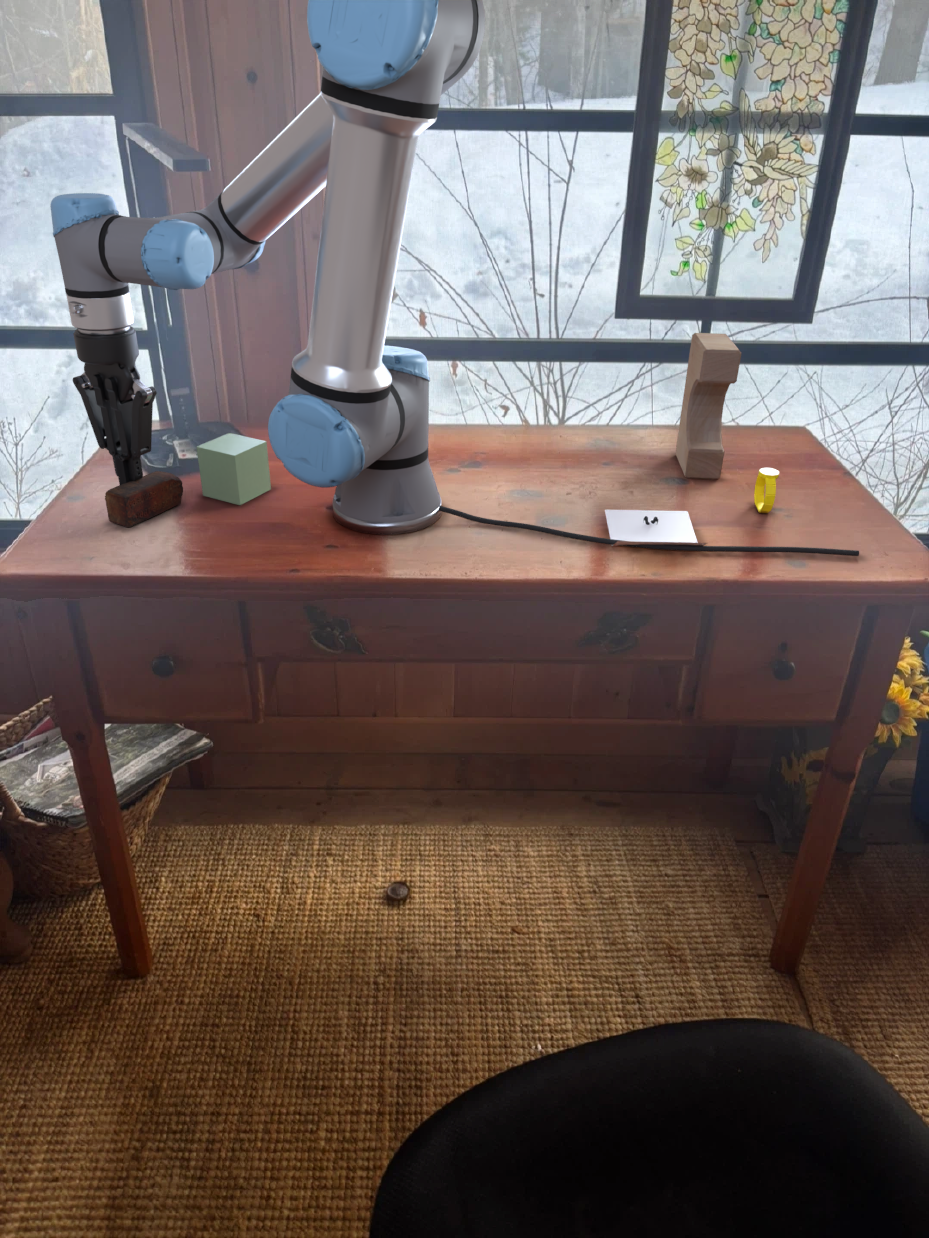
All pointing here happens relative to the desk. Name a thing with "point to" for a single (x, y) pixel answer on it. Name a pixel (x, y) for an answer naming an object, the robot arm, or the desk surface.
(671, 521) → the folded paper
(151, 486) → the brick
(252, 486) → the green block
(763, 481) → the watch
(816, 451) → the desk surface
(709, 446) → the decorative block
